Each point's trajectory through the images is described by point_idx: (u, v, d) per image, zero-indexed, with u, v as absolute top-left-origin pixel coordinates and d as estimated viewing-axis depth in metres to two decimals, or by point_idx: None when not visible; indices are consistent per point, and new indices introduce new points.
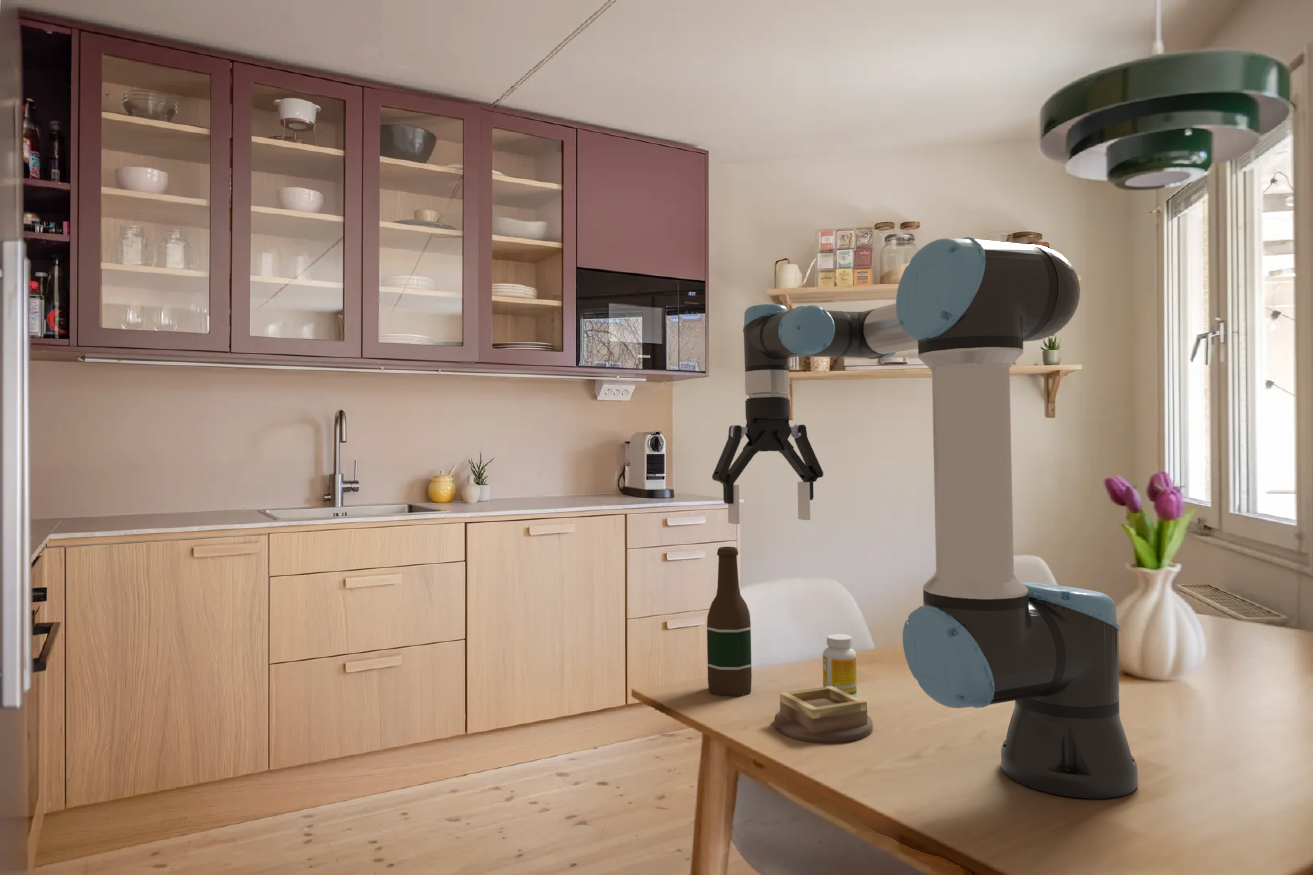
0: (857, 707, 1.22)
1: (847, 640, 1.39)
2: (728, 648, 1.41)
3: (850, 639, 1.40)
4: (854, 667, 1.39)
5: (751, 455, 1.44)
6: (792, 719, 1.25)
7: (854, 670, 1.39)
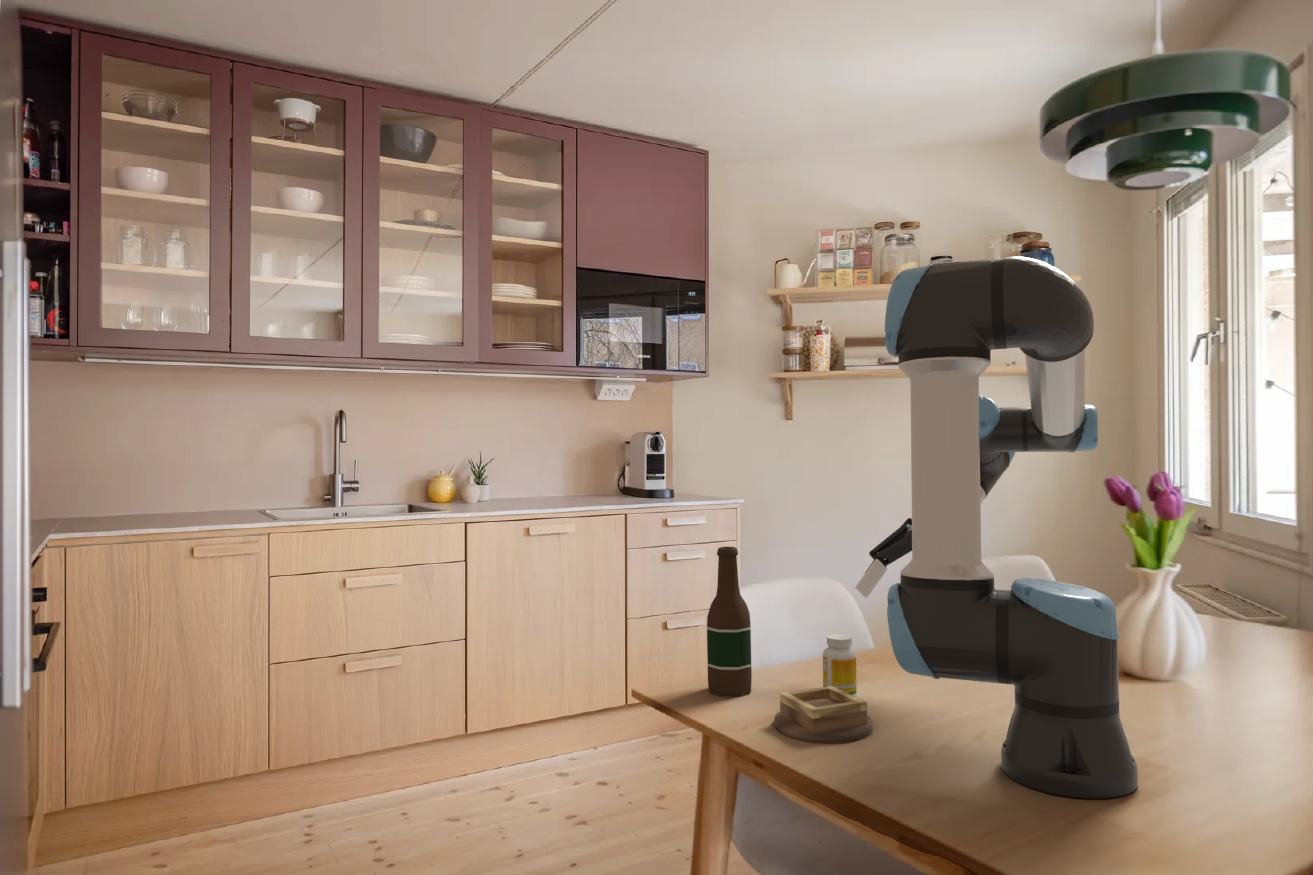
0: (857, 707, 1.22)
1: (847, 640, 1.39)
2: (728, 648, 1.41)
3: (850, 639, 1.40)
4: (854, 667, 1.39)
5: (903, 540, 1.51)
6: (792, 719, 1.25)
7: (854, 670, 1.39)
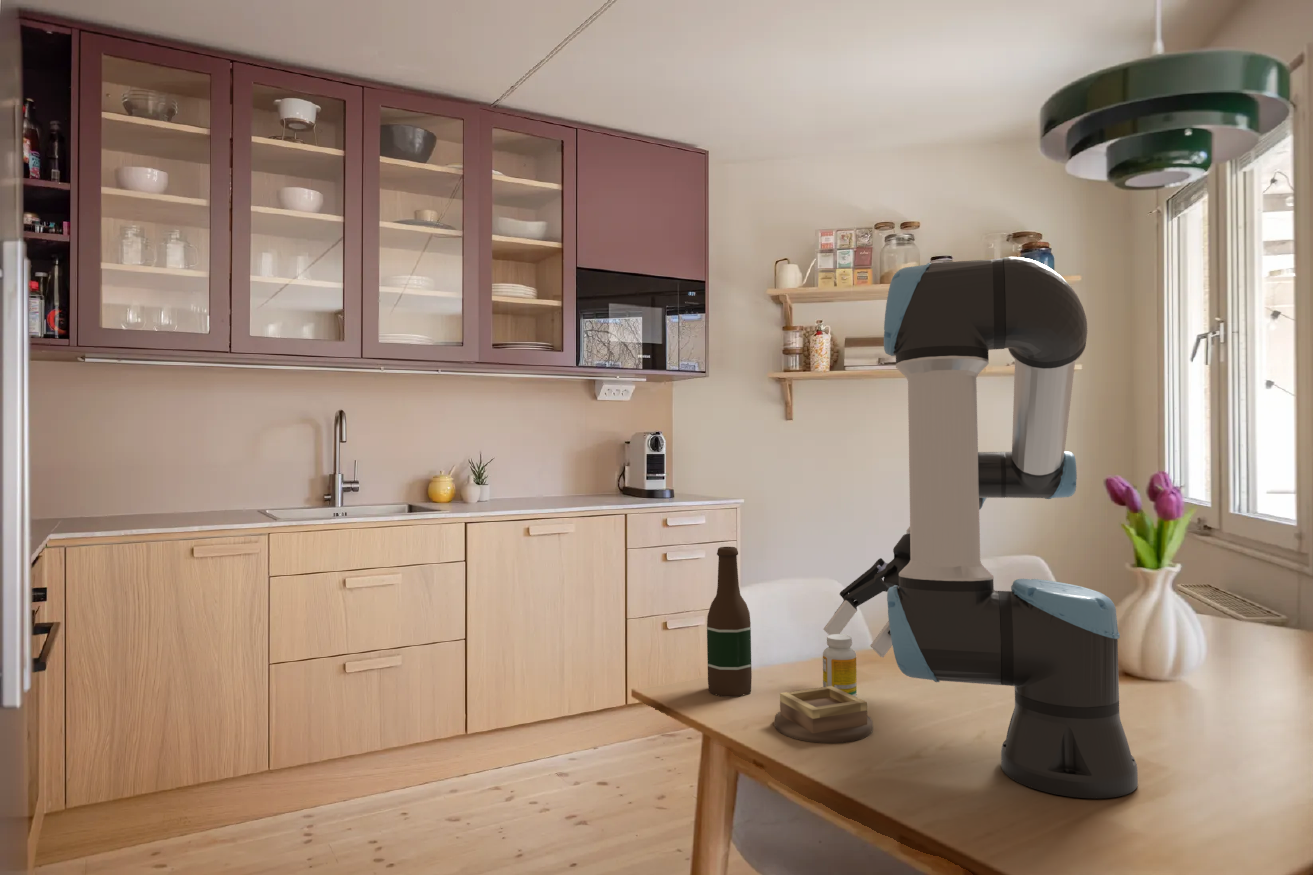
0: (857, 707, 1.22)
1: (847, 640, 1.39)
2: (728, 648, 1.41)
3: (850, 639, 1.40)
4: (854, 667, 1.39)
5: (872, 582, 1.49)
6: (792, 719, 1.25)
7: (854, 670, 1.39)
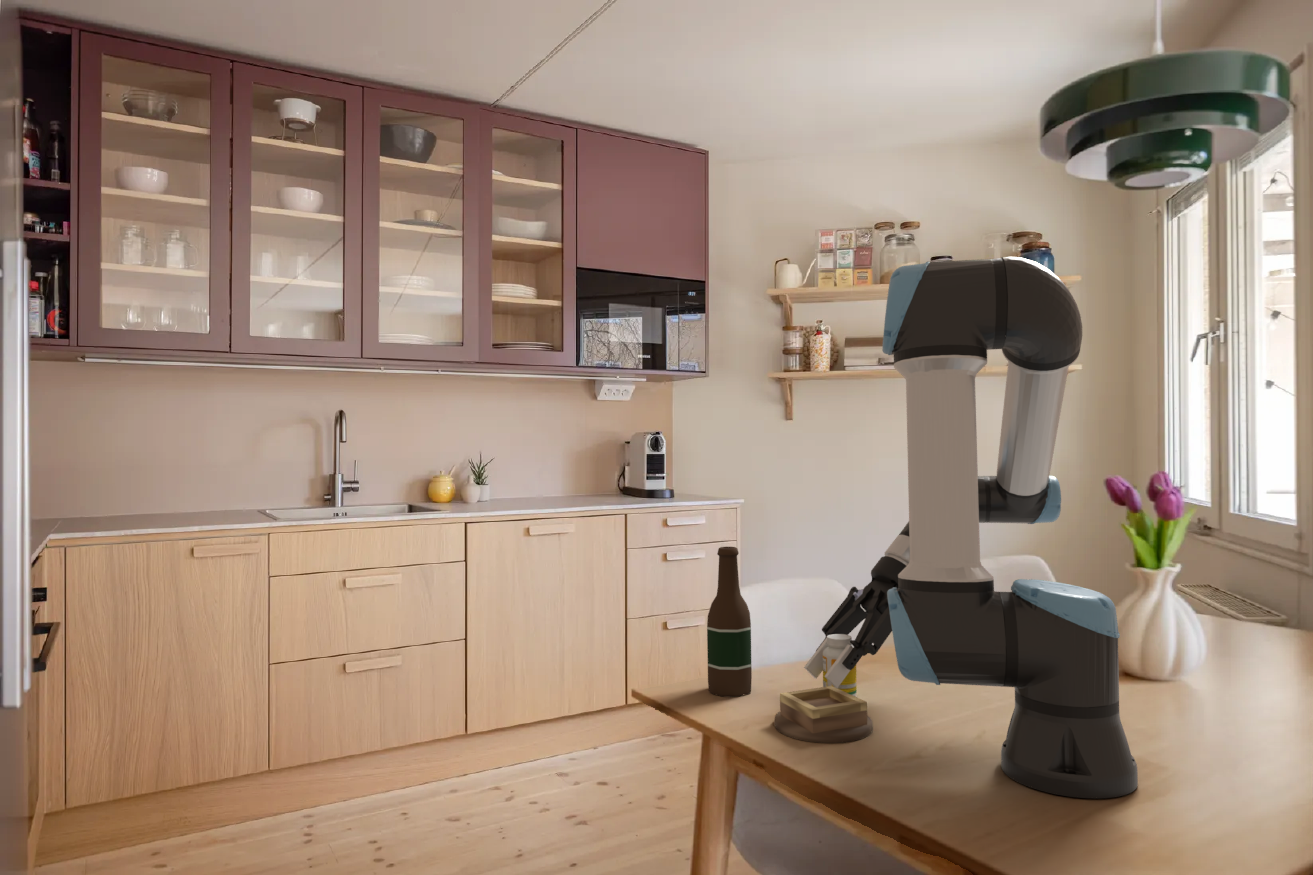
0: (857, 707, 1.22)
1: (847, 640, 1.39)
2: (728, 648, 1.41)
3: (850, 639, 1.40)
4: (854, 667, 1.39)
5: (852, 610, 1.45)
6: (792, 719, 1.25)
7: (854, 670, 1.39)
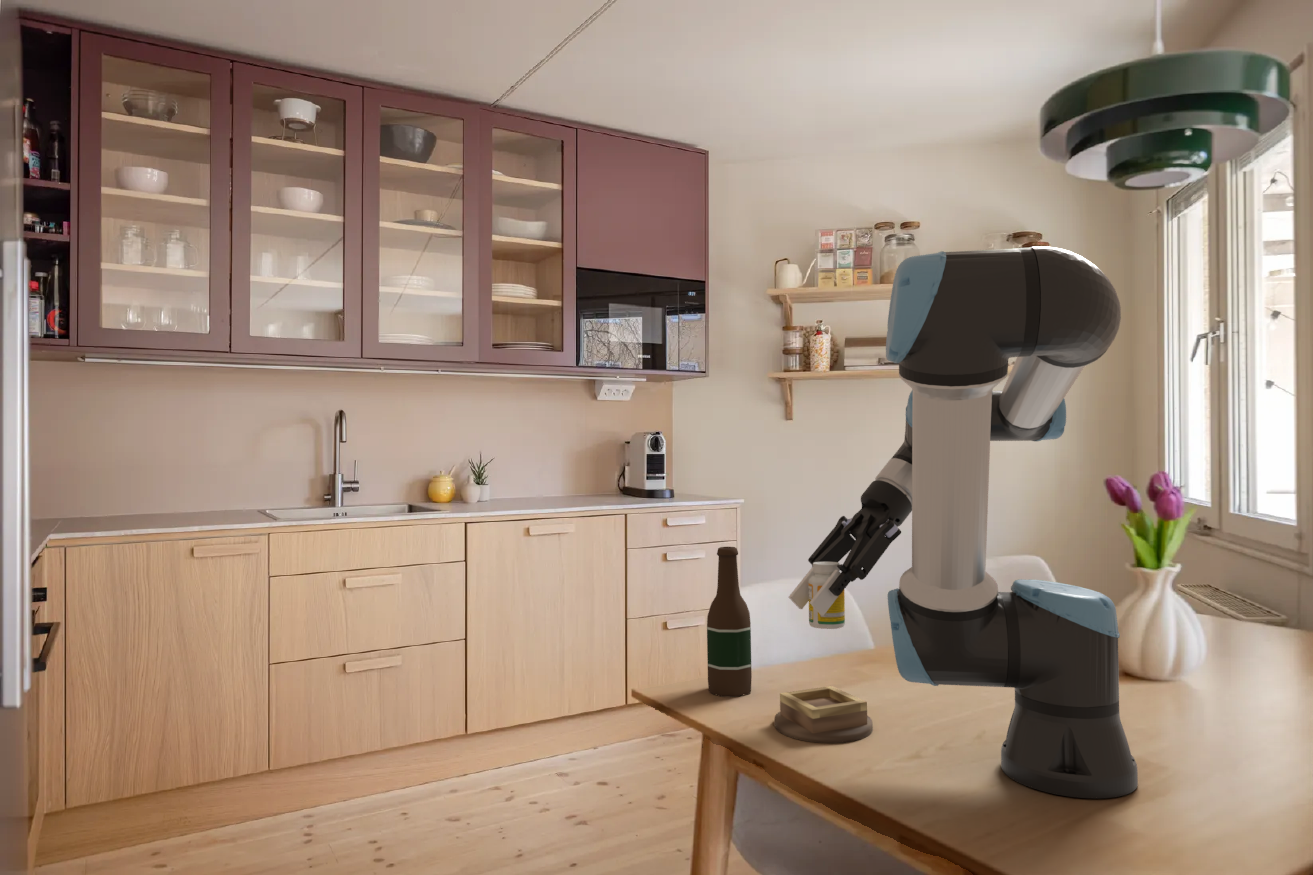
0: (857, 707, 1.22)
1: (834, 565, 1.30)
2: (728, 648, 1.41)
3: None
4: (842, 594, 1.30)
5: (841, 538, 1.35)
6: (792, 719, 1.25)
7: (842, 598, 1.30)
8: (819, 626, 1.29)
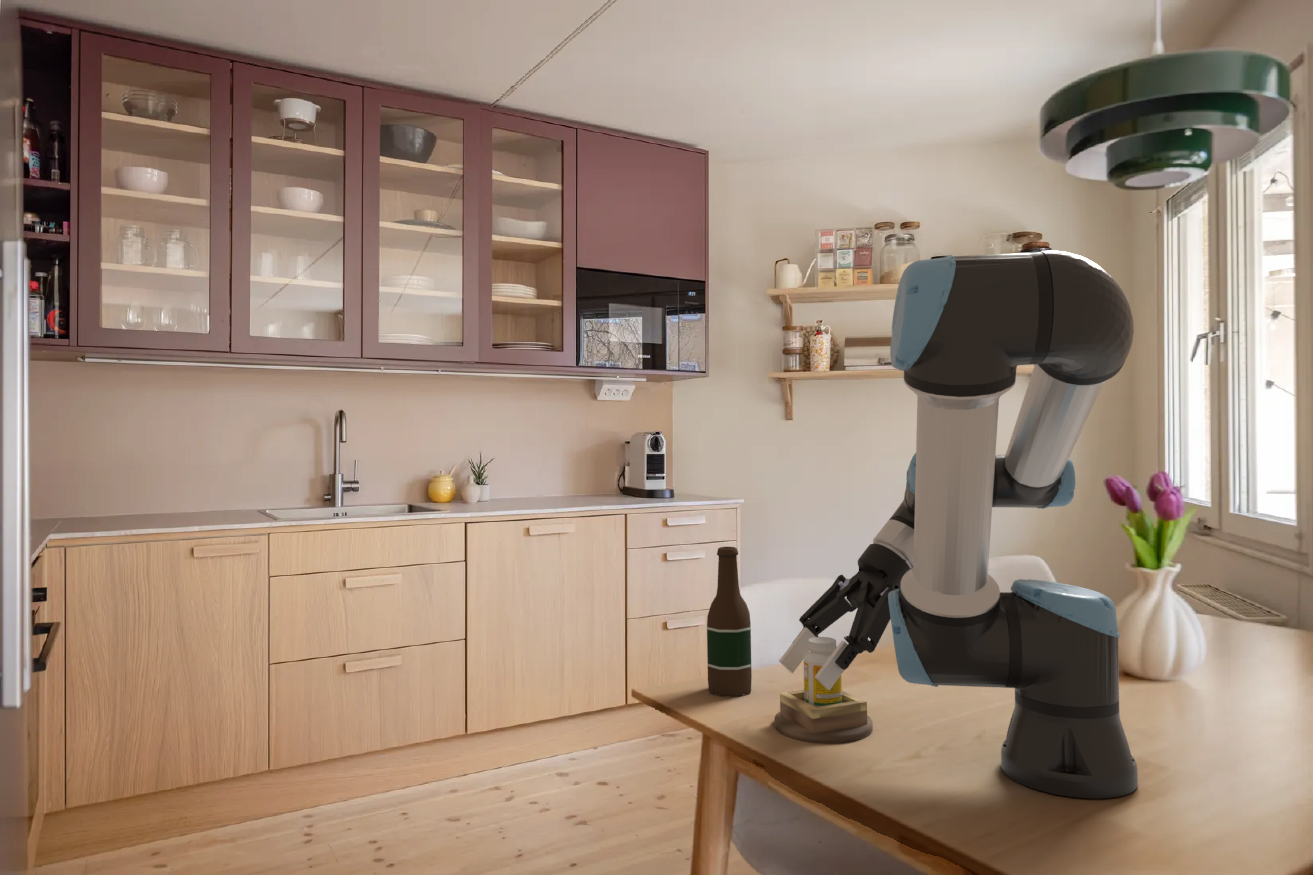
0: (857, 707, 1.22)
1: (831, 644, 1.24)
2: (728, 648, 1.41)
3: (834, 642, 1.24)
4: None
5: (835, 602, 1.30)
6: (792, 719, 1.25)
7: (839, 677, 1.24)
8: None
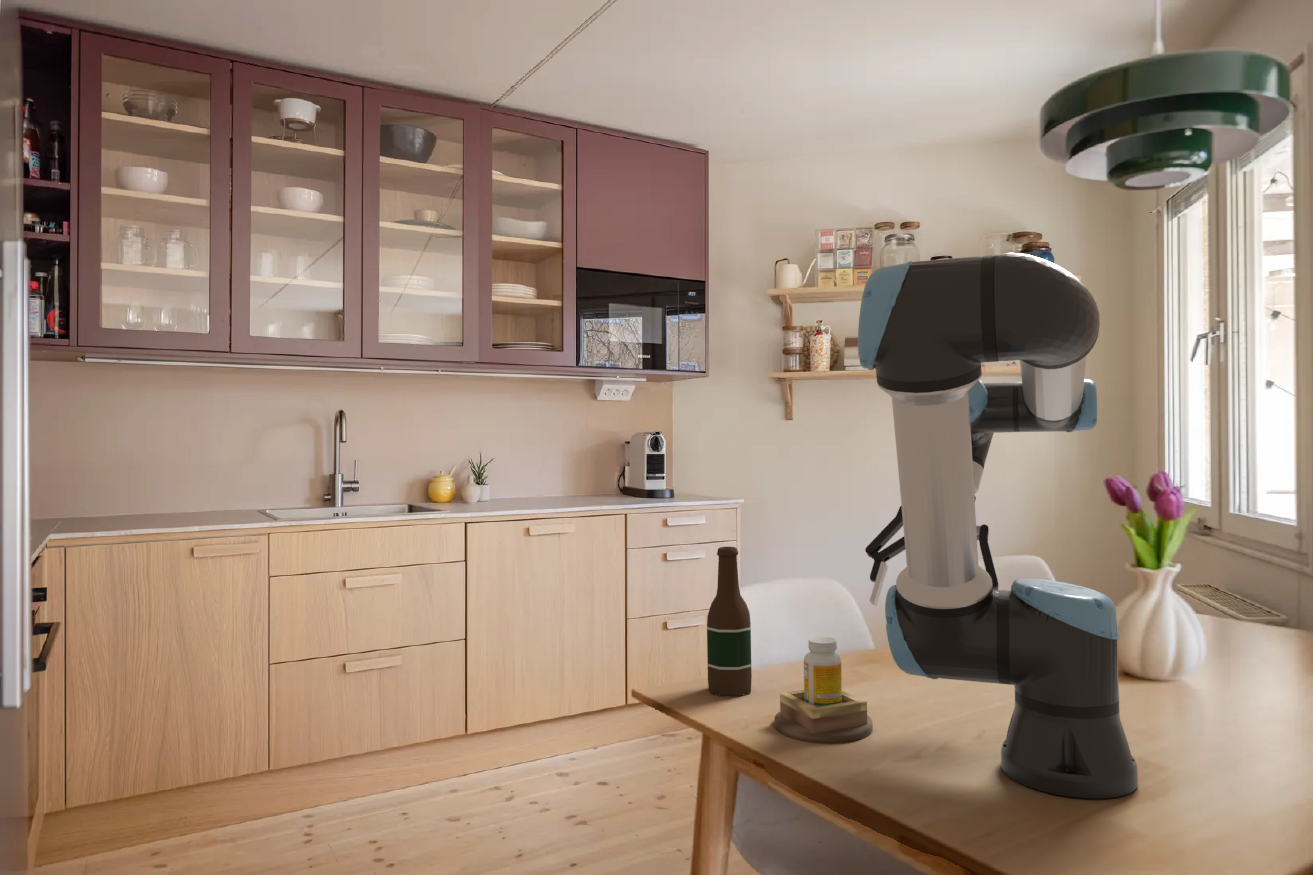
0: (857, 707, 1.22)
1: (831, 644, 1.24)
2: (728, 648, 1.41)
3: (834, 643, 1.24)
4: (839, 674, 1.24)
5: None
6: (792, 719, 1.25)
7: (839, 677, 1.24)
8: None
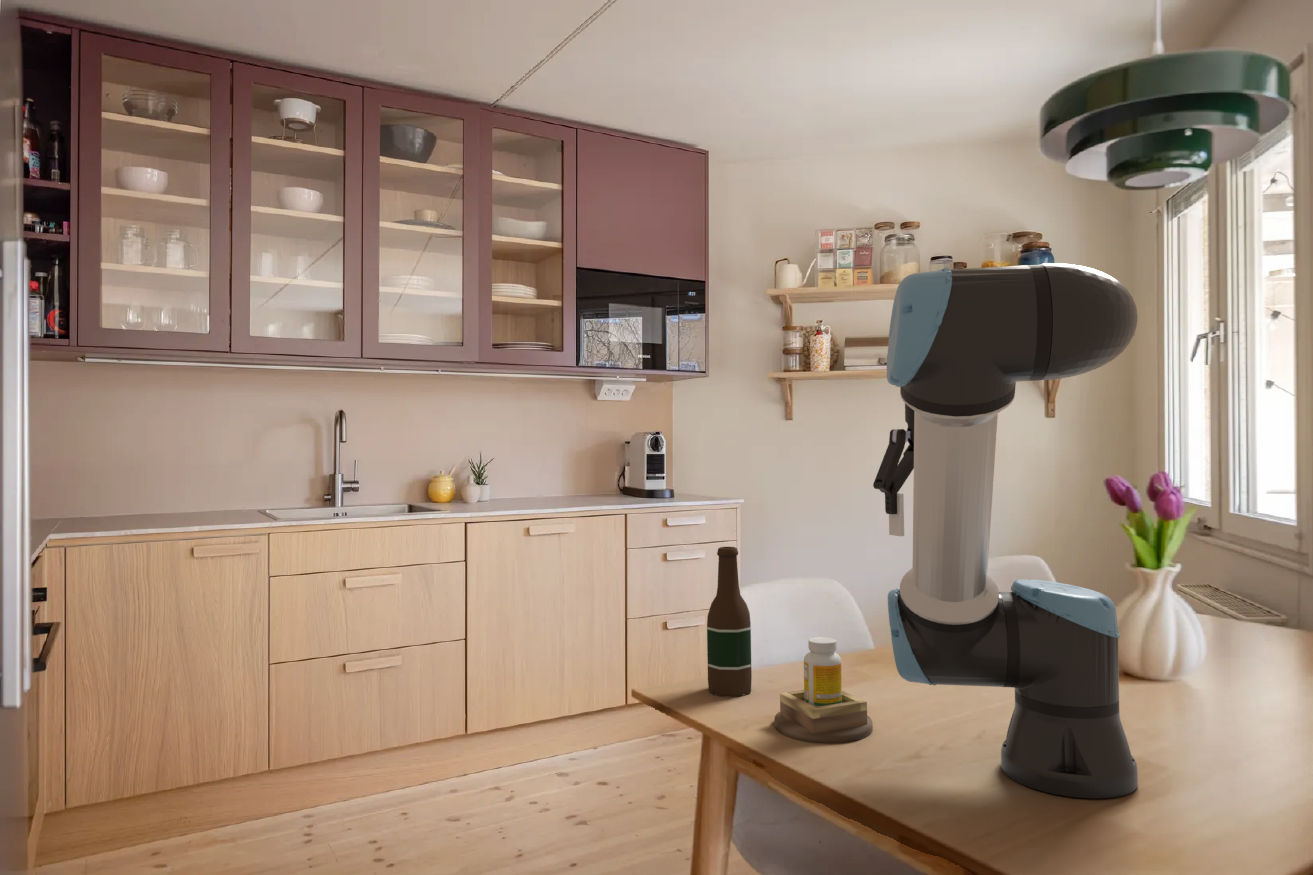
0: (857, 707, 1.22)
1: (831, 644, 1.24)
2: (728, 648, 1.41)
3: (834, 643, 1.24)
4: (839, 674, 1.24)
5: None
6: (792, 719, 1.25)
7: (839, 677, 1.24)
8: None
